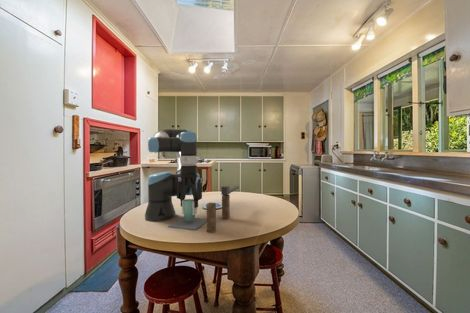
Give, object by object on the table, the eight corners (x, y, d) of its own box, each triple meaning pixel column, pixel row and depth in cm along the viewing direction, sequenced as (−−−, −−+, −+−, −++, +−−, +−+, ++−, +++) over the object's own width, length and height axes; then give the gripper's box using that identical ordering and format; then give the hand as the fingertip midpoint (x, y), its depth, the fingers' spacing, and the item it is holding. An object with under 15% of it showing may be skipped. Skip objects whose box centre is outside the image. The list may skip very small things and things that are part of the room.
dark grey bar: (221, 195, 110) (221, 186, 110) (235, 187, 132) (235, 180, 132) (227, 195, 109) (227, 187, 109) (240, 187, 131) (240, 180, 131)
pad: (168, 226, 101) (168, 225, 101) (184, 217, 114) (184, 216, 114) (195, 230, 96) (195, 229, 96) (209, 220, 110) (209, 219, 110)
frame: (206, 232, 94) (206, 204, 94) (224, 217, 114) (224, 194, 114) (213, 232, 93) (213, 204, 93) (229, 217, 113) (229, 194, 113)
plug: (182, 220, 103) (181, 201, 103) (187, 217, 108) (187, 198, 108) (191, 221, 102) (191, 201, 102) (196, 218, 107) (196, 199, 106)
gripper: (167, 165, 103) (168, 214, 104) (202, 165, 98) (202, 217, 99) (176, 164, 110) (177, 210, 111) (209, 164, 105) (209, 213, 106)
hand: (189, 213), depth 105 cm, fingers closed on plug, 5 cm apart
